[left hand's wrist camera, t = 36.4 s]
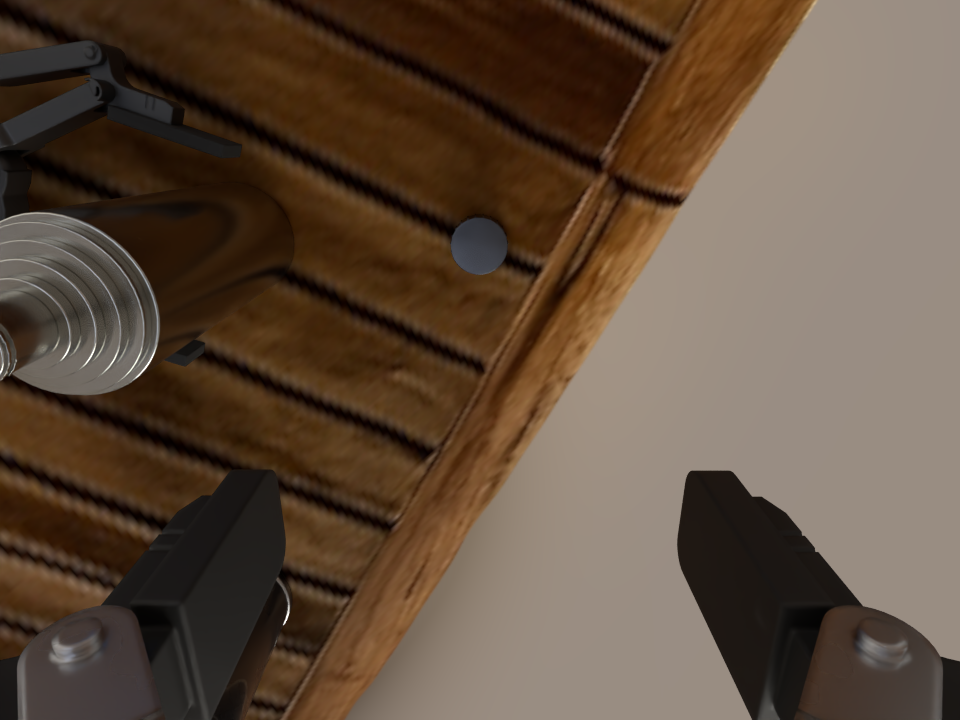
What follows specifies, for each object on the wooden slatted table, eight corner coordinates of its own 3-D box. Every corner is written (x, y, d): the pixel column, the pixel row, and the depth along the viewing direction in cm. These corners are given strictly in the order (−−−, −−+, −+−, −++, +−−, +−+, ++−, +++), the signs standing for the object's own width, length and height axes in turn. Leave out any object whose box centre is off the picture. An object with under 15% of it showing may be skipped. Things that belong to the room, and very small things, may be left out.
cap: (506, 269, 44) (507, 275, 42) (451, 269, 44) (450, 275, 42) (507, 213, 42) (508, 217, 40) (450, 213, 42) (449, 216, 40)
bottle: (231, 311, 45) (-30, 489, 22) (160, 220, 42) (-219, 311, 19) (316, 257, 43) (130, 386, 20) (247, 159, 41) (-51, 180, 18)
